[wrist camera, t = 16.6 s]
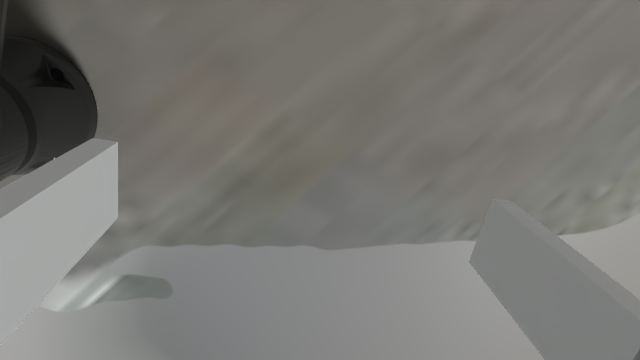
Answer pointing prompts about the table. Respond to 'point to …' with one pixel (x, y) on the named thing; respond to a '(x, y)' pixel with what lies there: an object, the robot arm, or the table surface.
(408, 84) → the table surface
